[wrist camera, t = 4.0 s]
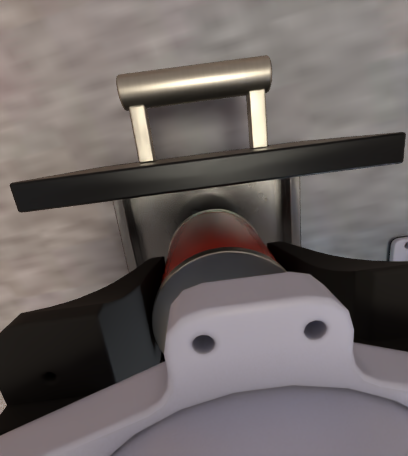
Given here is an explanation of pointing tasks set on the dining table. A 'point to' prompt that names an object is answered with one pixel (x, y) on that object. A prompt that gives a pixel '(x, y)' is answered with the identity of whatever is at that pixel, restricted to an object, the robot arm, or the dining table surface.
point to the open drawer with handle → (205, 164)
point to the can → (209, 259)
